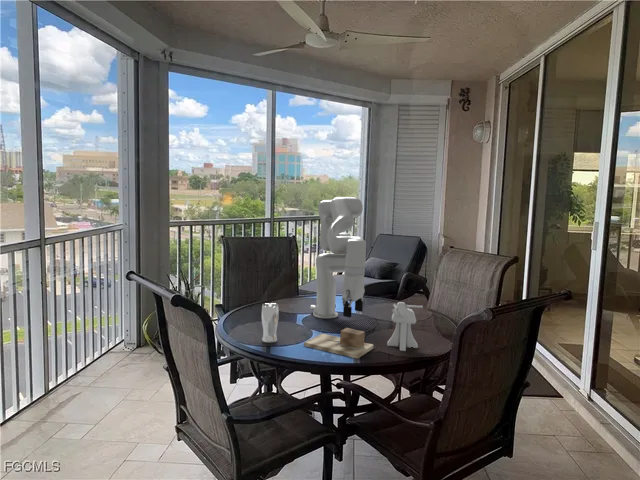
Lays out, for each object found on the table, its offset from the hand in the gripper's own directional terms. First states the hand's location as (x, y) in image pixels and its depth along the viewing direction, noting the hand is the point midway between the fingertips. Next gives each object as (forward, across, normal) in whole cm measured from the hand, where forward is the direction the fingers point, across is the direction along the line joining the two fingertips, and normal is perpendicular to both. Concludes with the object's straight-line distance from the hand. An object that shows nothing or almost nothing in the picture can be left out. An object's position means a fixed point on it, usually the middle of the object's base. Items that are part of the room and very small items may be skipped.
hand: (353, 313), depth 172 cm
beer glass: (+15, +11, -32) cm, 37 cm away
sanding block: (+13, 0, 0) cm, 13 cm away
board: (+14, +1, -5) cm, 15 cm away
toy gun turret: (+15, -16, +16) cm, 27 cm away
